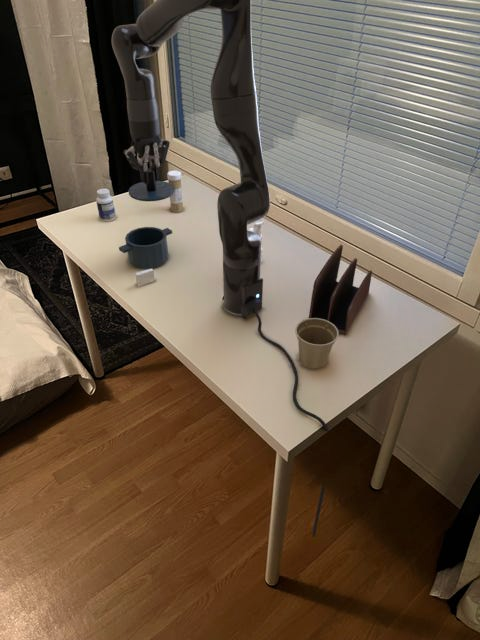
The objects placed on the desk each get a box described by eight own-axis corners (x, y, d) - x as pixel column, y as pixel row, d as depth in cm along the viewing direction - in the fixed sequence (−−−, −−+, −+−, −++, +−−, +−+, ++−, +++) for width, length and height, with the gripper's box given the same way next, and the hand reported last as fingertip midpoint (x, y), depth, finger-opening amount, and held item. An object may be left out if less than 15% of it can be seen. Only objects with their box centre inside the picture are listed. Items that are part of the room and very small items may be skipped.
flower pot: (329, 346, 117) (334, 317, 112) (337, 374, 110) (342, 344, 105) (290, 346, 117) (292, 318, 112) (295, 375, 110) (298, 345, 104)
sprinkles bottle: (178, 205, 175) (176, 168, 167) (186, 210, 173) (183, 172, 164) (167, 209, 173) (164, 172, 165) (175, 214, 170) (172, 176, 162)
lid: (184, 194, 137) (182, 170, 133) (146, 207, 131) (143, 183, 126) (156, 180, 144) (154, 158, 140) (120, 193, 138) (116, 169, 133)
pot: (183, 255, 149) (181, 233, 144) (135, 277, 140) (132, 254, 135) (160, 241, 156) (158, 220, 151) (113, 261, 146) (109, 239, 142)
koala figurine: (256, 251, 151) (257, 215, 144) (271, 260, 147) (273, 223, 140) (234, 261, 147) (234, 224, 139) (250, 270, 143) (250, 233, 135)
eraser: (154, 281, 138) (153, 270, 136) (138, 286, 136) (136, 275, 134) (152, 279, 139) (151, 268, 137) (136, 284, 137) (134, 273, 135)
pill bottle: (99, 215, 169) (93, 188, 163) (114, 213, 171) (110, 186, 164) (100, 222, 165) (95, 195, 159) (116, 220, 167) (112, 193, 160)
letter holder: (307, 324, 124) (312, 276, 115) (333, 284, 137) (340, 239, 129) (345, 336, 120) (354, 288, 111) (369, 294, 134) (378, 248, 125)
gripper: (128, 125, 119) (137, 193, 129) (174, 113, 126) (179, 178, 137) (111, 118, 123) (121, 184, 134) (157, 107, 131) (163, 171, 141)
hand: (150, 181), depth 135 cm, fingers closed on lid, 2 cm apart
